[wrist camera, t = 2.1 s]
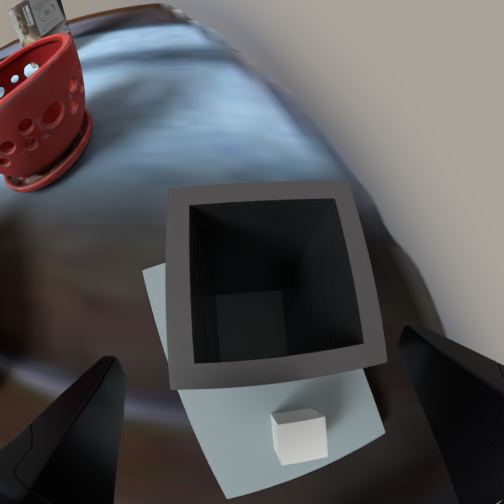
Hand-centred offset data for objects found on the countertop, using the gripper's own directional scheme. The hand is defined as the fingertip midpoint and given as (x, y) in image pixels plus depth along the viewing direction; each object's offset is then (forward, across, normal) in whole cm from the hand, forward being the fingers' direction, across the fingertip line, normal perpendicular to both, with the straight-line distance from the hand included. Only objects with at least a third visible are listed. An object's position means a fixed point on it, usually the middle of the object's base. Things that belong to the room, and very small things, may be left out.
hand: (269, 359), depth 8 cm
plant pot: (+22, +19, -7) cm, 30 cm away
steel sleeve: (+8, 0, +5) cm, 9 cm away
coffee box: (+43, +33, -28) cm, 61 cm away
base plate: (+7, -1, +8) cm, 10 cm away
